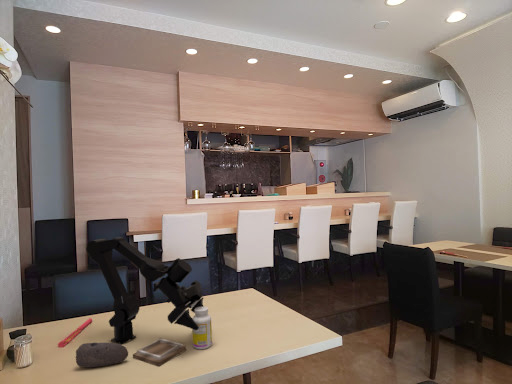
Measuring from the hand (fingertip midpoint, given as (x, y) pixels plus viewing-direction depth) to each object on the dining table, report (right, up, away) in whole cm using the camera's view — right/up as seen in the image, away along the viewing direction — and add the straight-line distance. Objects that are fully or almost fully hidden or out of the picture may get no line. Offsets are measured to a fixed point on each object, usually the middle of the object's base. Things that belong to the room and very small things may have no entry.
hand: (203, 323), depth 112 cm
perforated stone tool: (-30, -9, -11) cm, 33 cm away
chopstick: (-52, -10, +14) cm, 55 cm away
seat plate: (-13, -8, -5) cm, 16 cm away
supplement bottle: (0, -8, 0) cm, 8 cm away
